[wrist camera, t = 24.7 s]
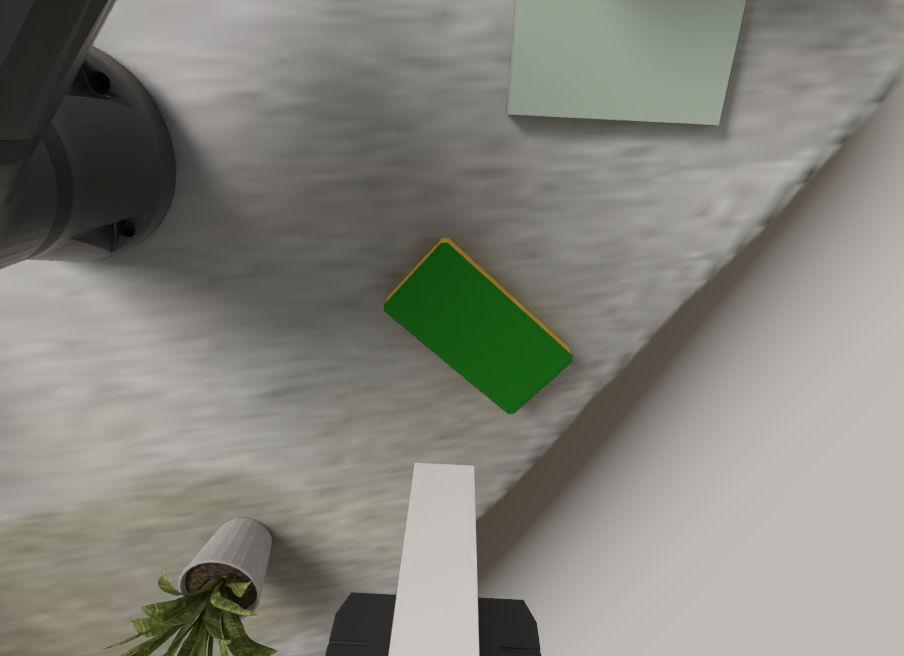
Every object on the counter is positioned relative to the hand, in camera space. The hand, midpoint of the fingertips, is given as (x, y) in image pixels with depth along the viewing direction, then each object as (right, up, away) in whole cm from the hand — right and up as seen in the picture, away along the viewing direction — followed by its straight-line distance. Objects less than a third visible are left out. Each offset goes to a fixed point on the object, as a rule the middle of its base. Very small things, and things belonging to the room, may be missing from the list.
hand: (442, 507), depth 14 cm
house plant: (-21, -16, +39) cm, 47 cm away
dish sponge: (+2, +5, +30) cm, 31 cm away
